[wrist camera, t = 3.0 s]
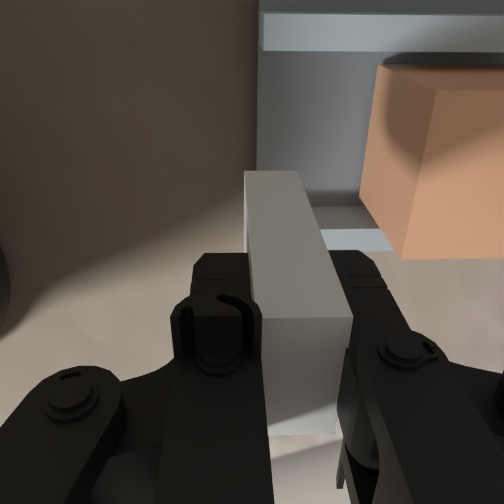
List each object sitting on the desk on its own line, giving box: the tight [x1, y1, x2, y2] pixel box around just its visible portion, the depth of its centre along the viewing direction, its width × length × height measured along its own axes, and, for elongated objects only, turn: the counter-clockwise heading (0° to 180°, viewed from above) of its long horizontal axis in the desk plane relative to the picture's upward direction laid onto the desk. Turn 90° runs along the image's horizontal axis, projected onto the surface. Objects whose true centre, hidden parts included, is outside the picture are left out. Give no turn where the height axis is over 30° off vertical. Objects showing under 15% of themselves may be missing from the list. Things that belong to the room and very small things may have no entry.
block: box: [359, 64, 504, 260], centre depth 18 cm, size 6×6×6 cm
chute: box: [256, 0, 504, 252], centre depth 20 cm, size 16×11×4 cm
